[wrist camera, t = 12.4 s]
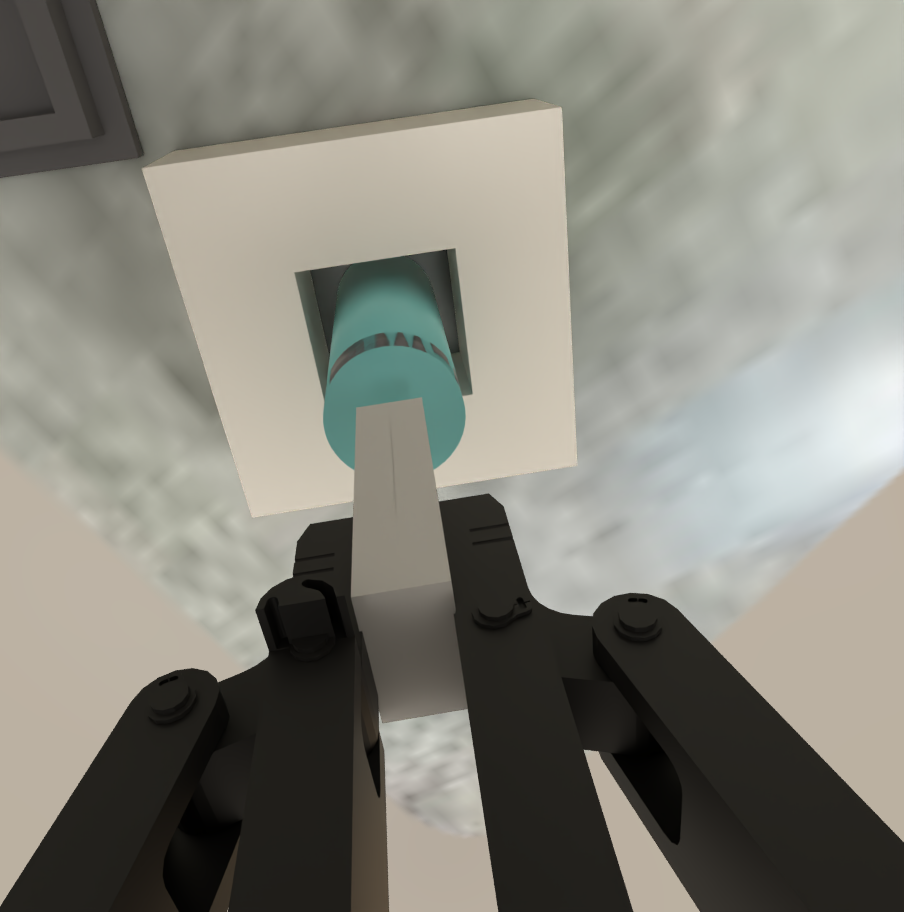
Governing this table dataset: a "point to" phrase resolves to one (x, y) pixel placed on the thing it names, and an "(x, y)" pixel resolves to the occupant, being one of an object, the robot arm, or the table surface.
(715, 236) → the table surface
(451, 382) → the plug
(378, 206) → the port
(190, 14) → the table surface
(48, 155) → the grey square socket
